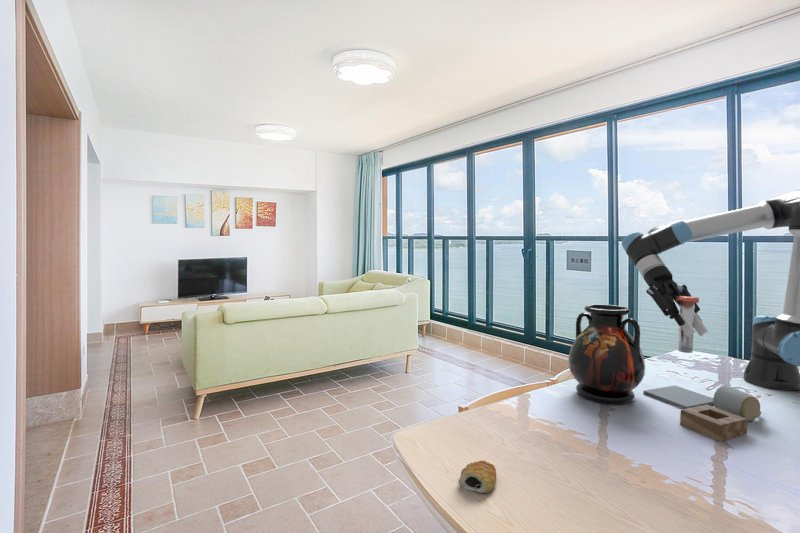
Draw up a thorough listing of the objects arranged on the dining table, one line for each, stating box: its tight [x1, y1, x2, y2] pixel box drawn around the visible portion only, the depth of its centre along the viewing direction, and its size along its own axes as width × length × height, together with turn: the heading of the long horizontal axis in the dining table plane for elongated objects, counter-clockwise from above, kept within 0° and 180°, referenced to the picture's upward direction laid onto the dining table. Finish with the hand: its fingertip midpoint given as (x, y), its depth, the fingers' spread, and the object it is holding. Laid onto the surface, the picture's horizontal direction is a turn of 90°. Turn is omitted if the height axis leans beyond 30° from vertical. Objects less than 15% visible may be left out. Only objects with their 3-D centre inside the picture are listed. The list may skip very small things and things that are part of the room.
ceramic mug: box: [712, 385, 762, 422], centre depth 118 cm, size 11×8×8 cm
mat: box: [643, 385, 714, 409], centre depth 131 cm, size 14×14×1 cm
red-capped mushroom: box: [676, 296, 700, 354], centre depth 126 cm, size 6×6×16 cm
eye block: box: [679, 405, 748, 442], centre depth 109 cm, size 10×10×4 cm
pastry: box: [457, 460, 497, 494], centre depth 86 cm, size 9×7×4 cm
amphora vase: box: [567, 304, 646, 405], centre depth 132 cm, size 22×22×28 cm
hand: (697, 333), depth 123 cm, fingers closed on red-capped mushroom, 3 cm apart
